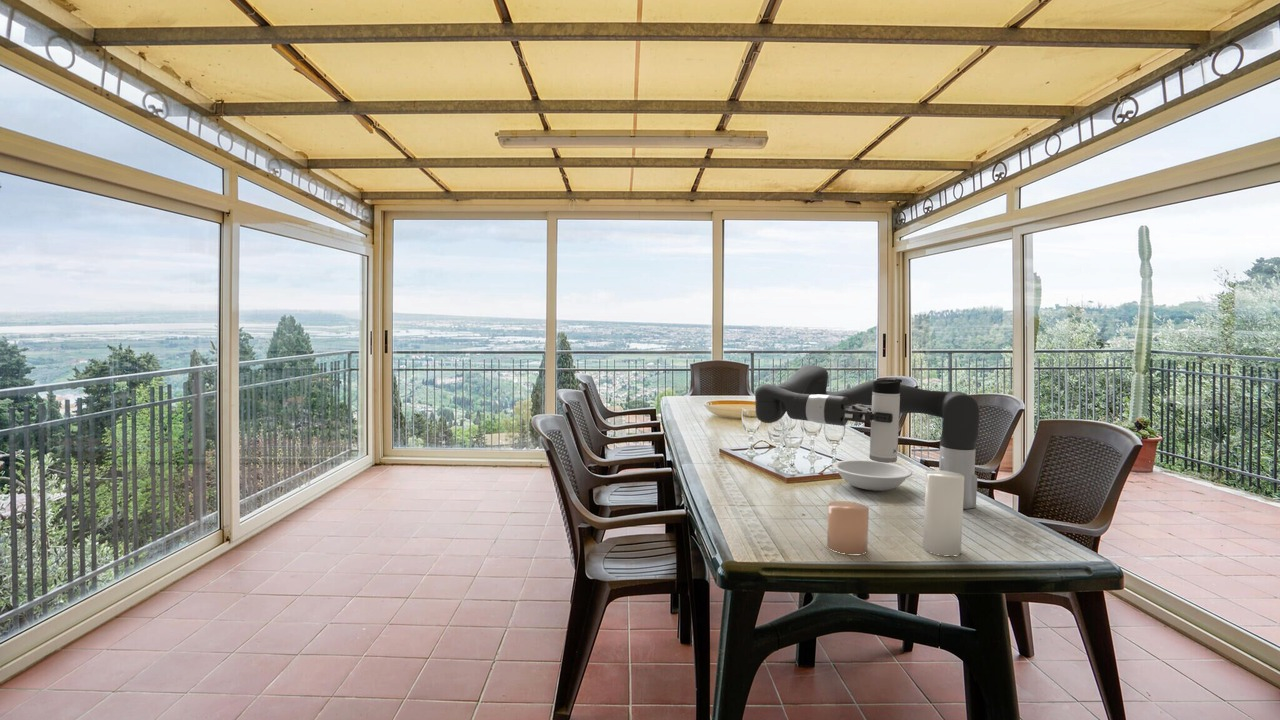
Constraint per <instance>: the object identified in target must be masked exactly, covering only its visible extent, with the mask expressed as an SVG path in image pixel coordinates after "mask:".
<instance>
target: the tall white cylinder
mask: <svg viewBox="0 0 1280 720" xmlns="http://www.w3.org/2000/svg"><path fill="white" fill-rule="evenodd" d="M924 485H925V487H924V504H923V505H924V506H923V507H924V508H923V509H924V510H923V534H922V549H923V548H924V549H925V550H927V551H929V552H932V553H935V554H939V555H949V556H954V555H959V554H960V553H961V554H962V540H963V538H962V537H963V516H964V515H963V514H964V509H963V498H964V476H963V475H961V474H958V473H954V472H949V471H940V470H939V469H935V470H927V471H926V472H925V484H924ZM924 549H923V550H924ZM925 550H924V551H925ZM927 551H926V552H927ZM929 552H928V553H929ZM932 553H931V554H932ZM935 554H934V555H935ZM939 555H938V556H939ZM959 556H960V555H959Z"/></svg>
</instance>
